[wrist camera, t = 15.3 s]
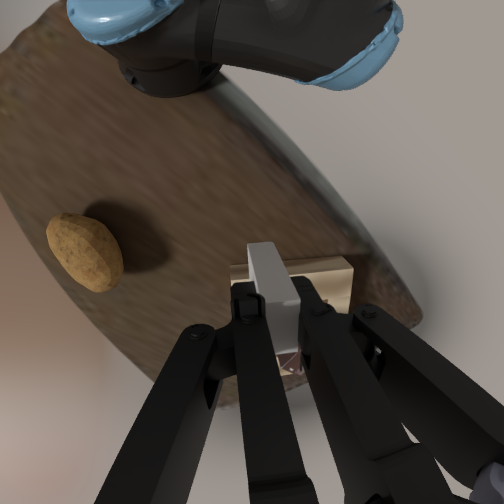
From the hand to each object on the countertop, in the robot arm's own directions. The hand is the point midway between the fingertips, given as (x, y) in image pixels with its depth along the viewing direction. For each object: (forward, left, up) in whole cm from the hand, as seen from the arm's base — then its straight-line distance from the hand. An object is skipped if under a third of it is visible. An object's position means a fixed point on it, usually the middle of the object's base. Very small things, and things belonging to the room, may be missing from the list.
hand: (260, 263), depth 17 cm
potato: (+5, -23, -25) cm, 34 cm away
